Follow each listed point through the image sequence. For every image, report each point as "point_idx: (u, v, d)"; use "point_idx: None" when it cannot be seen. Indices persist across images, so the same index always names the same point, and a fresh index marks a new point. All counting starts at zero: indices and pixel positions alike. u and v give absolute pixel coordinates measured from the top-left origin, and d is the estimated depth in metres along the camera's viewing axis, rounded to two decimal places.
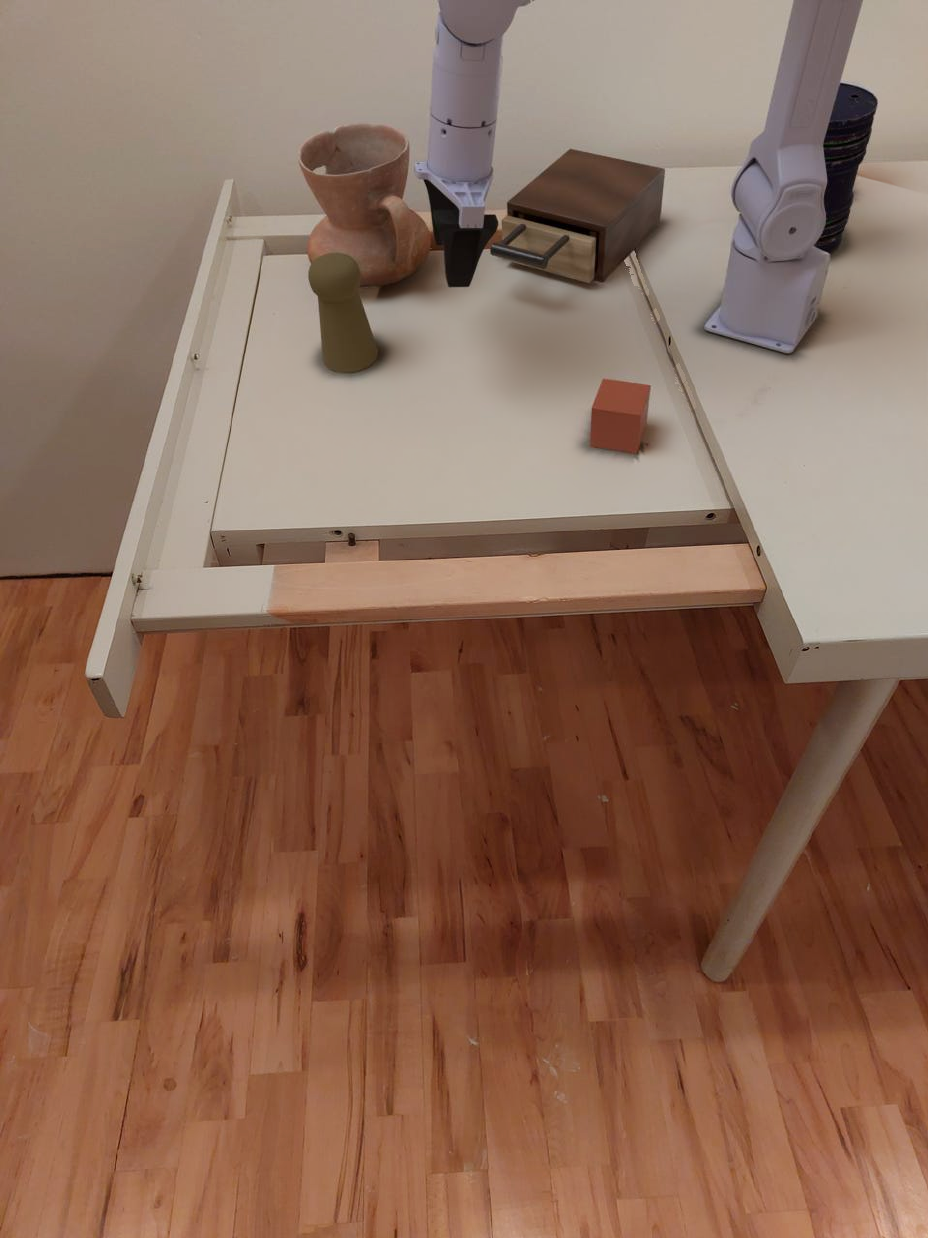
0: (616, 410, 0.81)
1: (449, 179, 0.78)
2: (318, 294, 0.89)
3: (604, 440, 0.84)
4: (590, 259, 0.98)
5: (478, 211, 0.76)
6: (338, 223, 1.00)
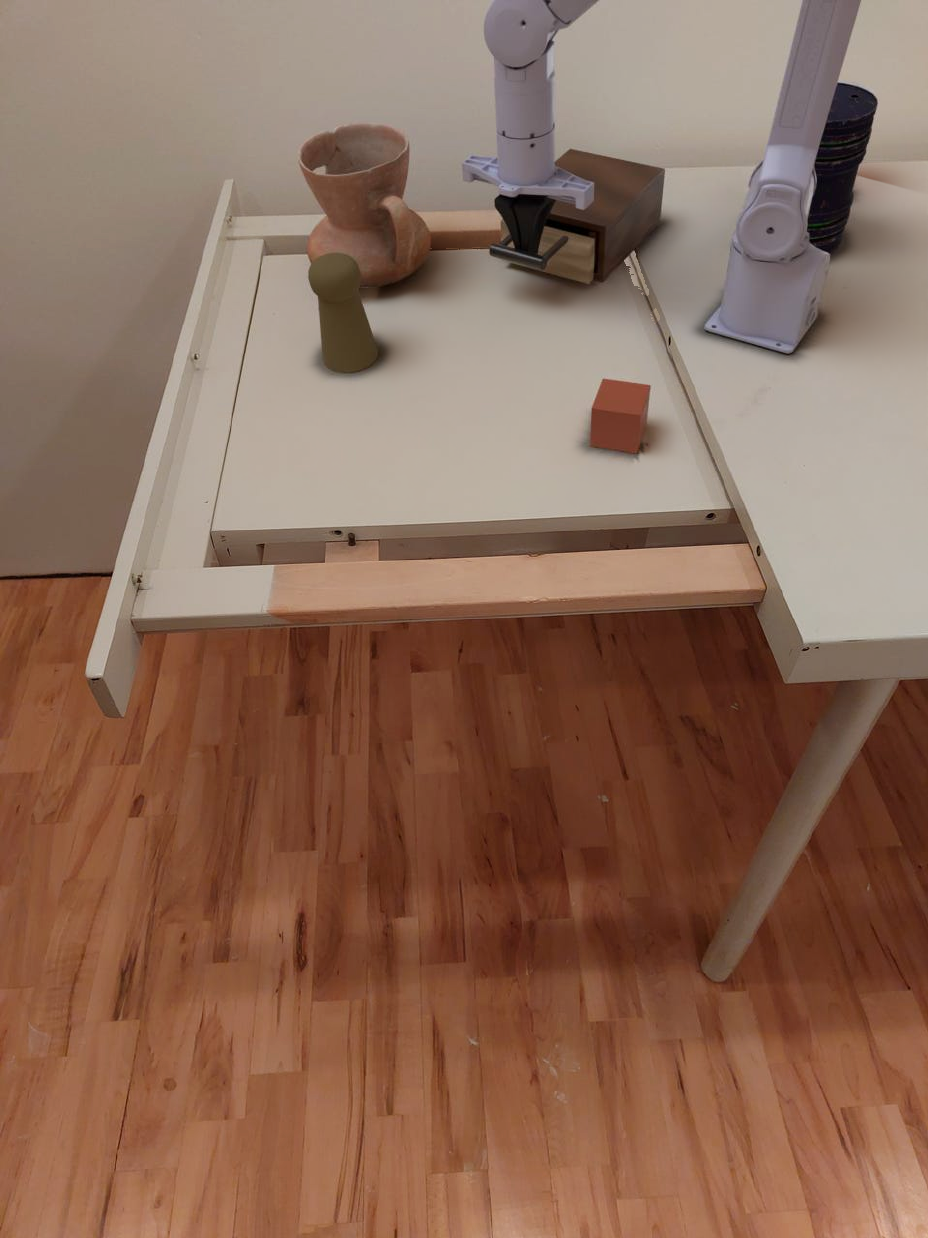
0: (616, 410, 0.81)
1: (541, 182, 0.89)
2: (318, 294, 0.89)
3: (604, 440, 0.84)
4: (589, 260, 0.98)
5: (591, 189, 0.89)
6: (338, 223, 1.00)
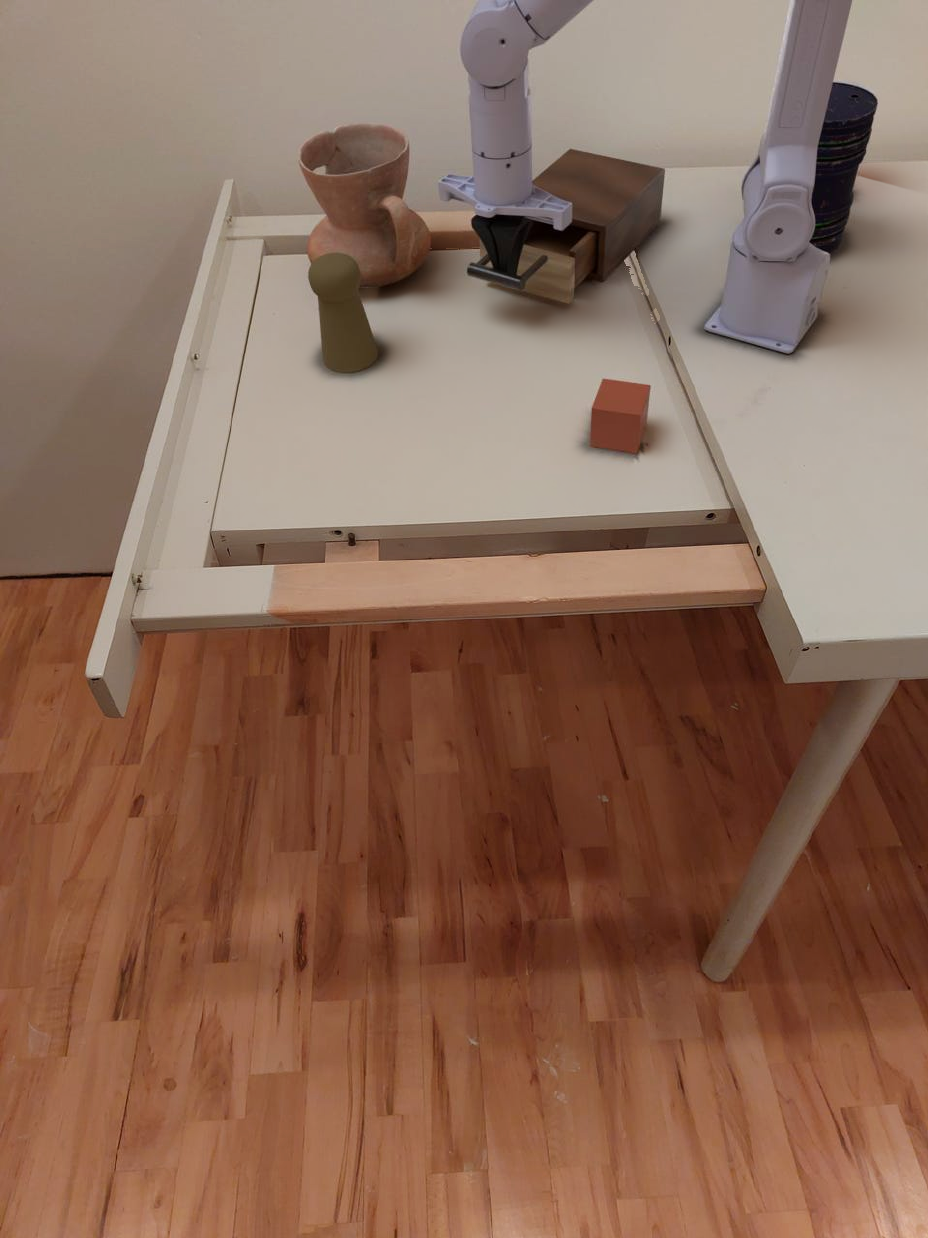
0: (616, 410, 0.81)
1: (518, 202, 0.87)
2: (318, 294, 0.89)
3: (604, 440, 0.84)
4: (569, 280, 0.96)
5: (570, 209, 0.86)
6: (338, 223, 1.00)
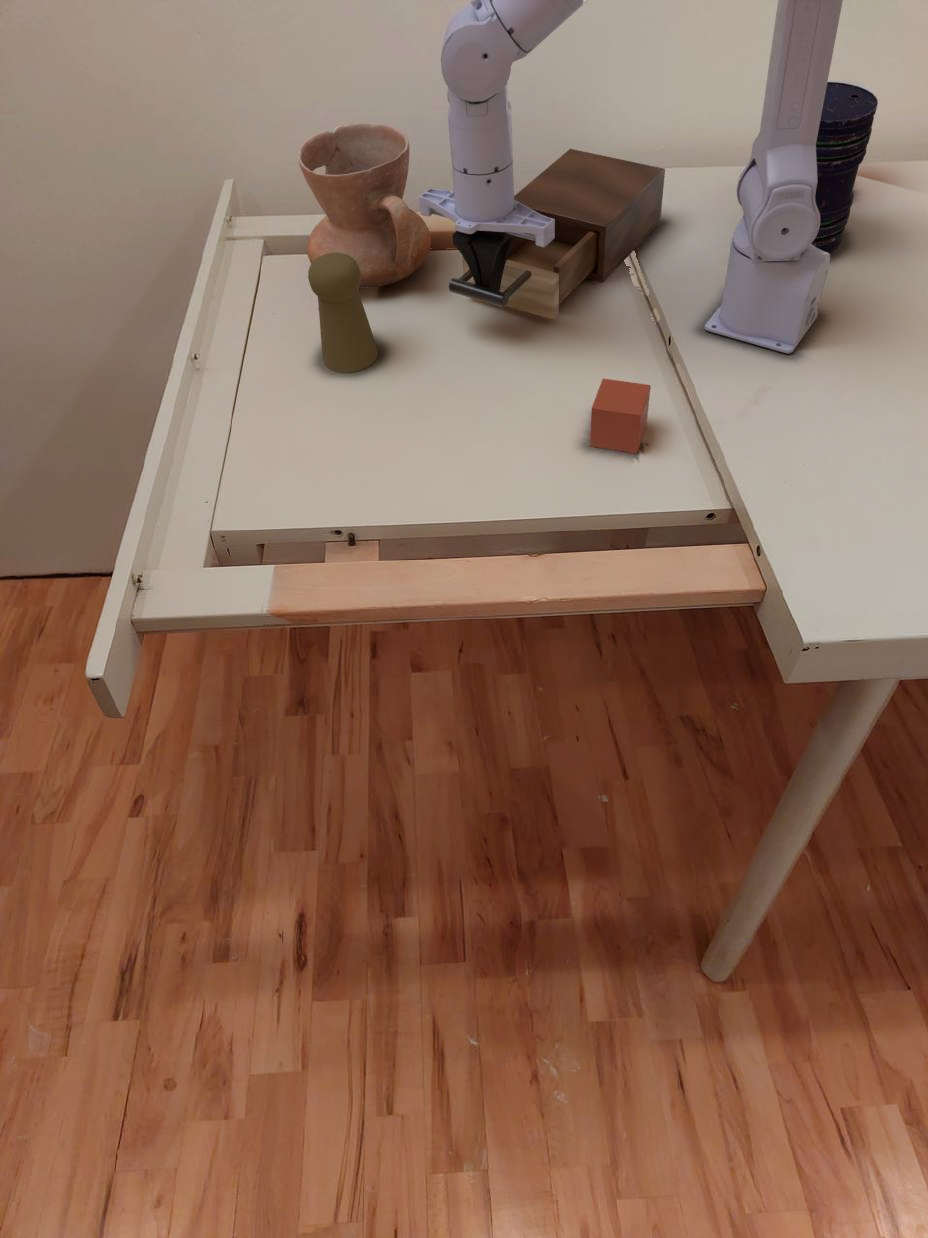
0: (616, 410, 0.81)
1: (500, 218, 0.85)
2: (318, 294, 0.89)
3: (604, 440, 0.84)
4: (553, 295, 0.94)
5: (552, 225, 0.85)
6: (338, 223, 1.00)
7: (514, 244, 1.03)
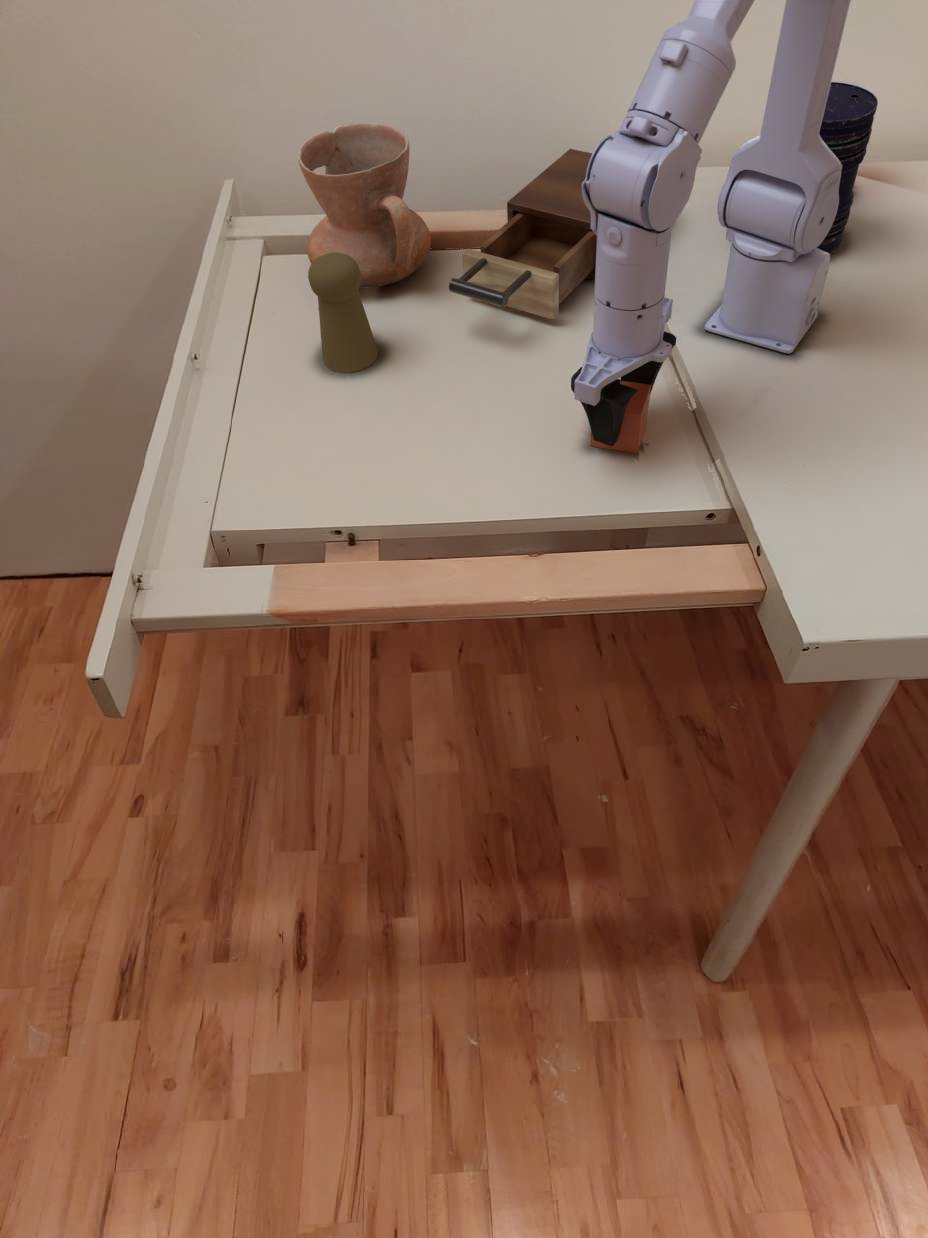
0: None
1: None
2: (318, 294, 0.89)
3: None
4: (553, 295, 0.94)
5: None
6: (338, 223, 1.00)
7: (514, 244, 1.03)
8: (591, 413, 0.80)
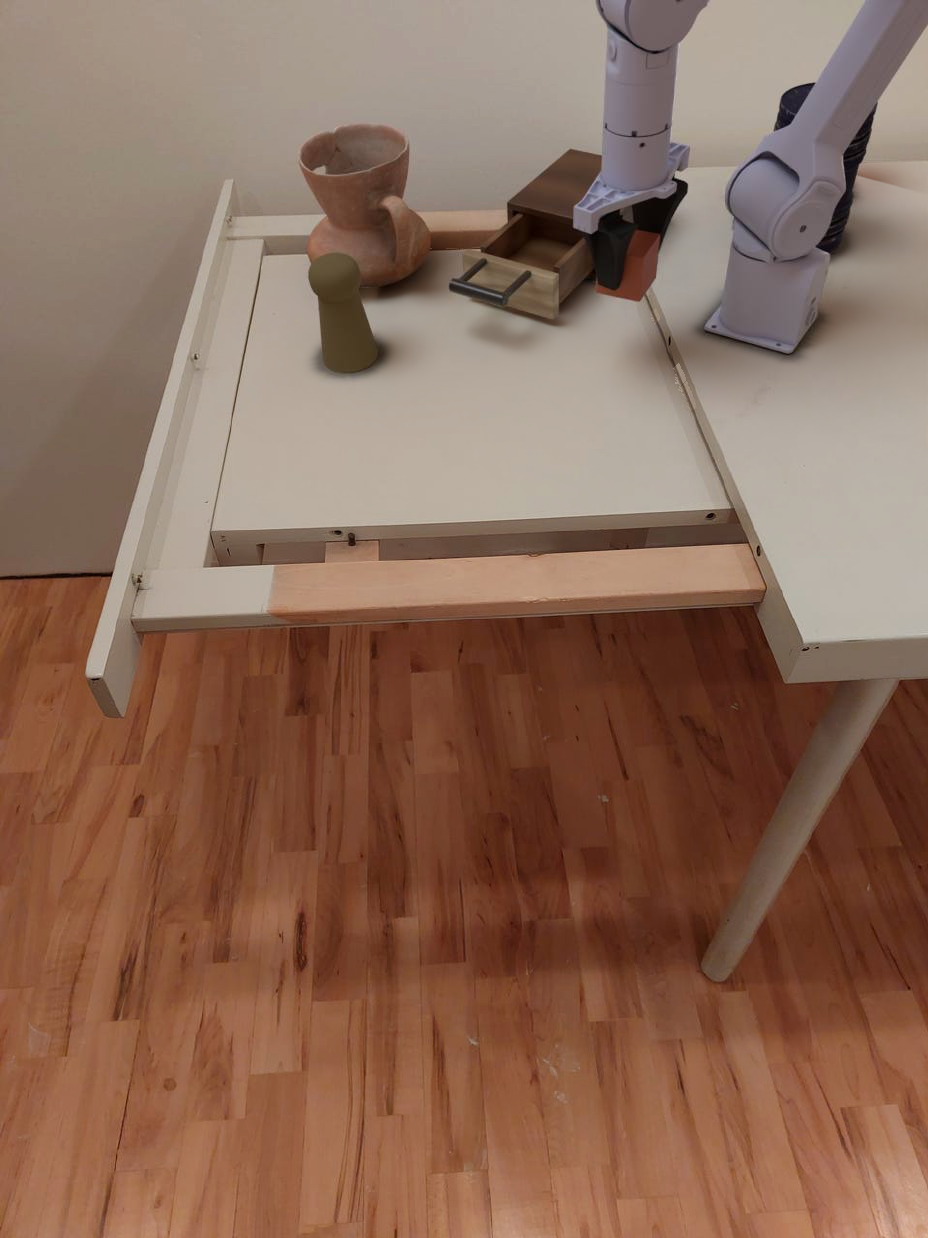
0: None
1: None
2: (318, 294, 0.89)
3: None
4: (553, 295, 0.94)
5: None
6: (338, 223, 1.00)
7: (514, 244, 1.03)
8: (595, 253, 0.82)
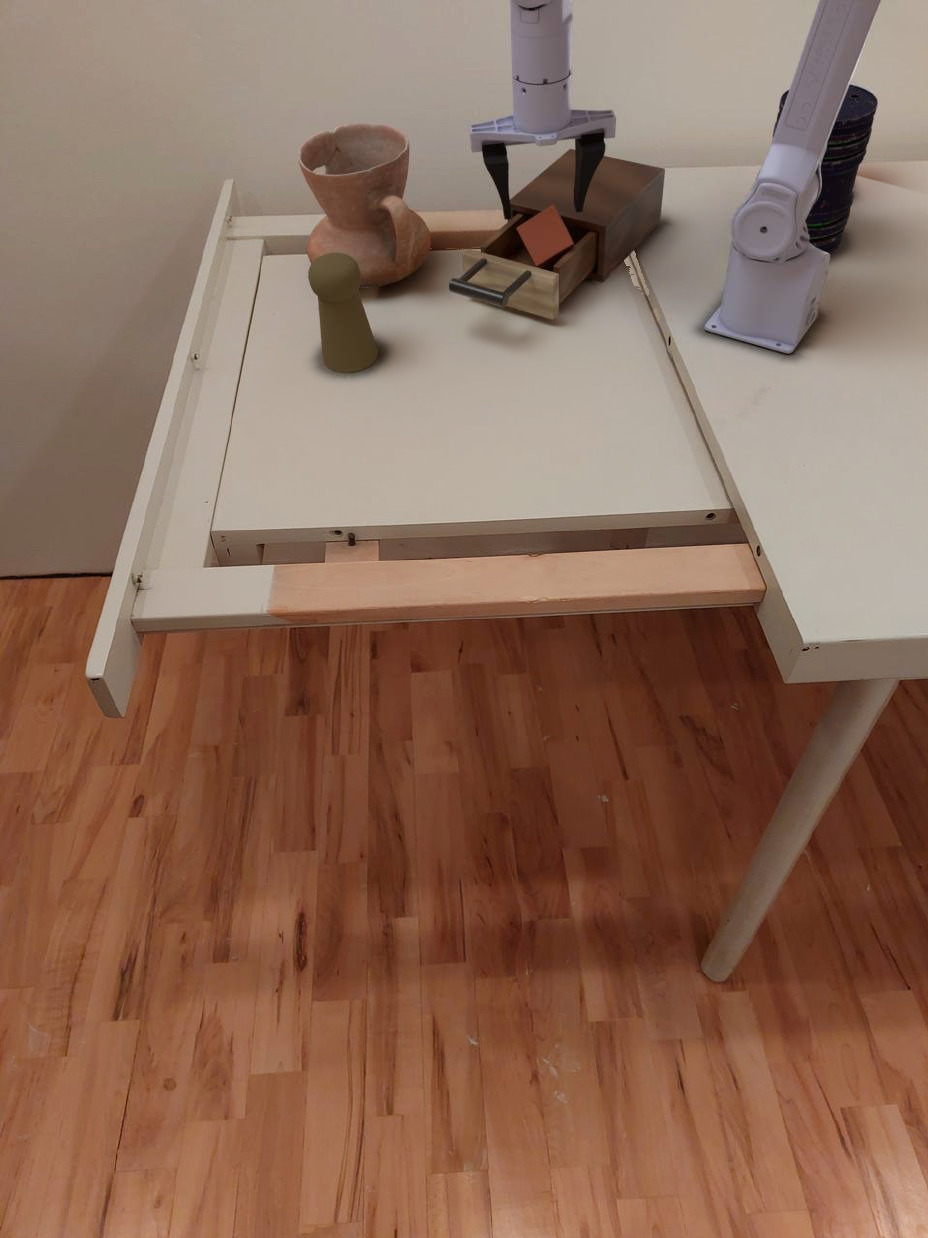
0: (527, 246, 0.96)
1: (569, 123, 0.89)
2: (318, 294, 0.89)
3: None
4: (553, 295, 0.94)
5: None
6: (338, 223, 1.00)
7: (514, 244, 1.03)
8: None
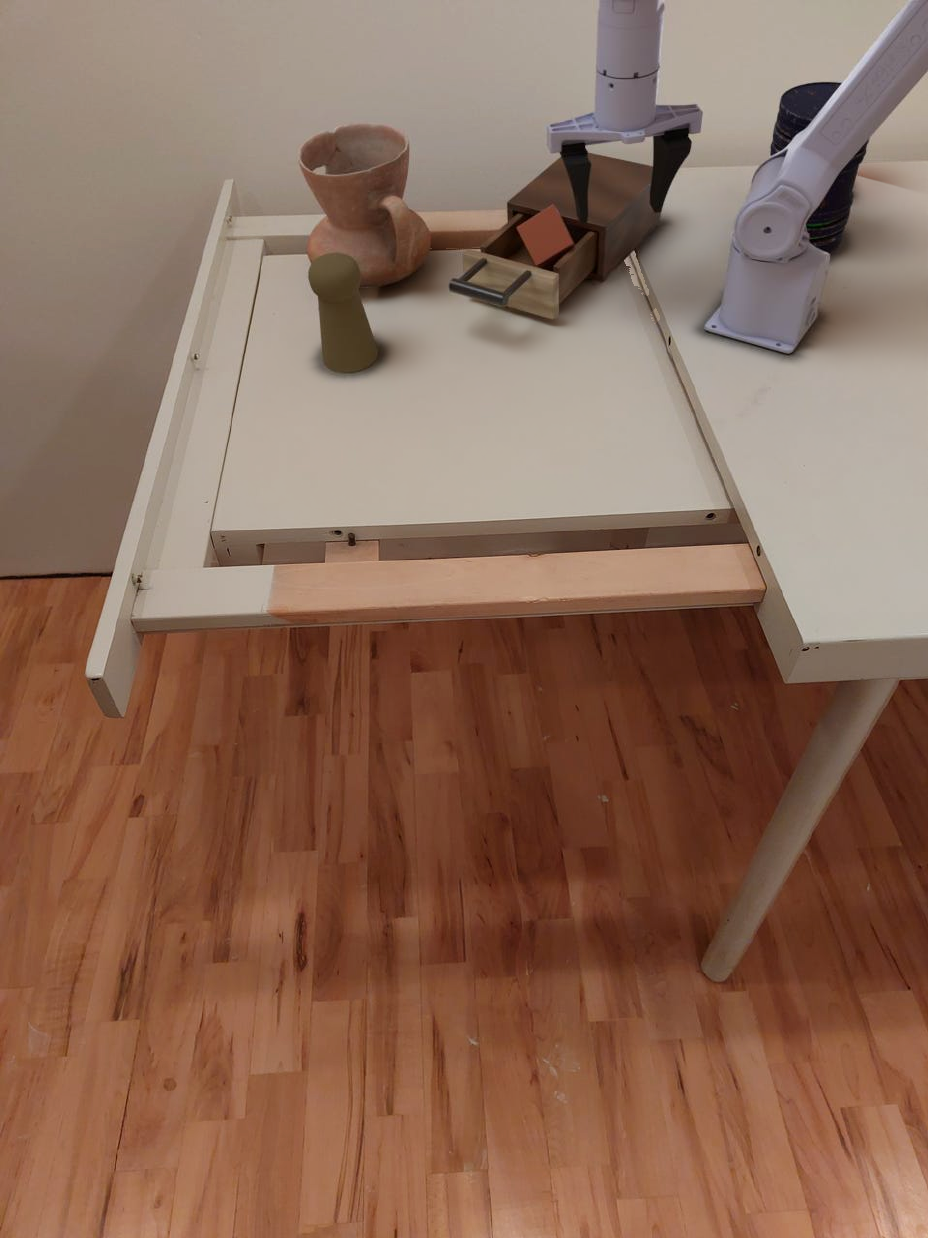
0: (527, 246, 0.96)
1: (655, 119, 0.84)
2: (318, 294, 0.89)
3: None
4: (553, 295, 0.94)
5: None
6: (338, 223, 1.00)
7: (514, 244, 1.03)
8: None
